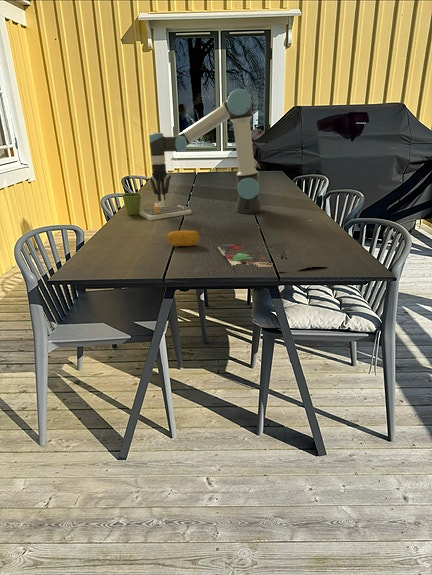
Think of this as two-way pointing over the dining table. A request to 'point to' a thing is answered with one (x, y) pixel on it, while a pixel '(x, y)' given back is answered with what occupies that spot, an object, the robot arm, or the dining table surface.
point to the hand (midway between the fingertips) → (162, 206)
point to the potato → (183, 238)
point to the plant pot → (132, 202)
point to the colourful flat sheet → (240, 256)
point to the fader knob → (156, 209)
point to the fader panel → (165, 212)
